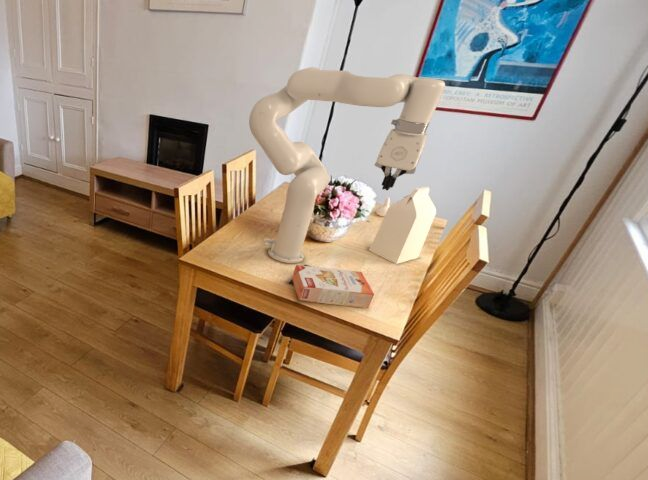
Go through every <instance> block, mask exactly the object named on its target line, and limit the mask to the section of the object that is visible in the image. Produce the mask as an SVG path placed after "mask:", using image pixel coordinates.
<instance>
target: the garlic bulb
mask: <svg viewBox="0 0 648 480" xmlns="http://www.w3.org/2000/svg"><path fill="white" fill-rule="evenodd" d="M390 203H391V198H390V197H389V196H388V197H386V200H385V202H384V203H383V205H380V206H378V207H377V208H376V211H375V213H376V215H377V216H380V217H383V218H384V217H385V215H386V212H387V210H388V208H389V206H390Z"/></svg>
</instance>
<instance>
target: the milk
mask: <svg viewBox="0 0 648 480" xmlns="http://www.w3.org/2000/svg"><path fill="white" fill-rule="evenodd" d="M429 192H430V187H429V186H427V185H426V186H420V187H415V188H414V189H413V190H412V192H411V193H410V194H407V195H405V196H403V197H402V198H403V199H400V200H398V201H395V202H393V203H391V204H389V208H388V210H387V212H386V215H385V217H384V216H383V219H382V221H381V223H380V225H379V227H378V230H377V231H376V234H375V236H374V238H373V240H372V243H371V244H370V247H369V249H368V251H370V252H372V253H374V254H375V255H378V256H379V257H381V258H383V259H385V260H388V261H390V262H391V263H393V264H395V265H397V264H402V263H404V262H407V261H412V260H414V259H418V258H419V257H420V254H421V251H422V249H423V246H424V245H425V242H426V239H427V237H428V234H429V232H430V229H431V227H432V224H433V223H434V222H433V221H434V219H435V217H436V214H437V209H436V206H435V204H434V203H433V201H432V199H431V197H430V195H429Z"/></svg>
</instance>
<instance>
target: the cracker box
mask: <svg viewBox="0 0 648 480" xmlns="http://www.w3.org/2000/svg"><path fill="white" fill-rule="evenodd" d="M310 266H311V265H308V266H304V265H300V264H296V265H295V267H294V271H293V274H292V276H291V280H293V283H294V285H293V287H294V289H295V292H296V296H297V299H298V301H299V302H309V303H310V302H311V303H318V304H328V305H336V306H344V307H353V308H362V309H363V308H364V309H369V307H370V306H371V303H372V300H373V298H374V295H375V293H374V292H373V290H372V288H371V286H370V285H369V282H368V280H367V279H366V277H365V276H364V274H363V272H362V271H359V270H347V269H339V268H338V269H337V268H327V267H319V266H311V267H310Z"/></svg>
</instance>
